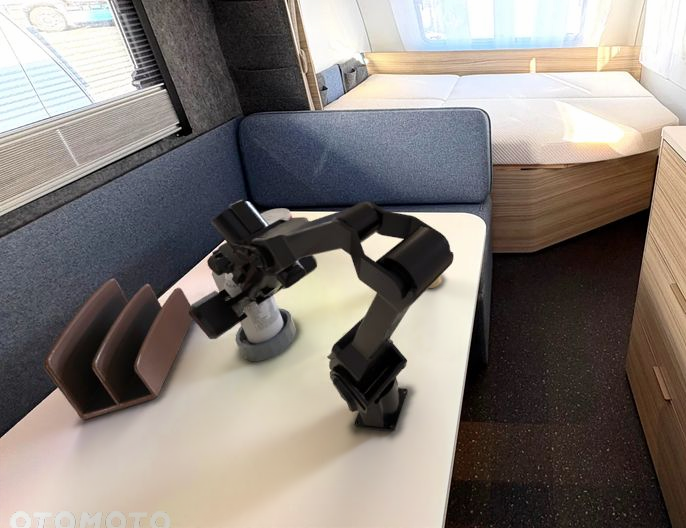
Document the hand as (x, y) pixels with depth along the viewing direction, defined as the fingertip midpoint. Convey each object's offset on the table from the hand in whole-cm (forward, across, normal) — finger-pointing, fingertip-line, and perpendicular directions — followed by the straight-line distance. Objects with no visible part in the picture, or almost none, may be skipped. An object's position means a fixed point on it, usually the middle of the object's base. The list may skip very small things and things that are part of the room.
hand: (250, 300), depth 70 cm
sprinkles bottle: (-7, -27, +21) cm, 34 cm away
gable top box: (+19, -4, -5) cm, 20 cm away
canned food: (+22, -19, -9) cm, 30 cm away
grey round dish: (+6, 0, +8) cm, 10 cm away
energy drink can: (+4, 0, +6) cm, 8 cm away
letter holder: (+17, +13, -4) cm, 22 cm away
